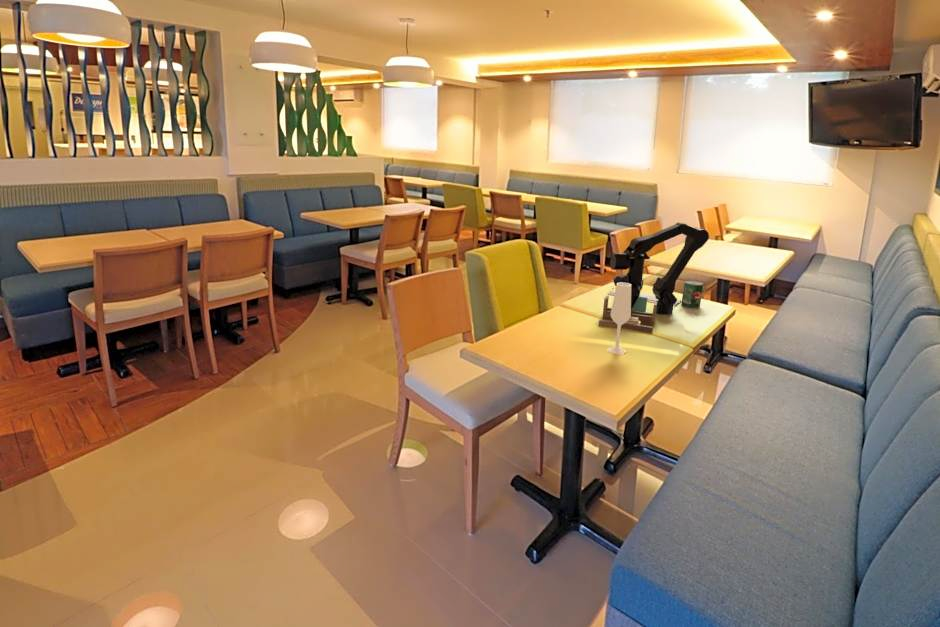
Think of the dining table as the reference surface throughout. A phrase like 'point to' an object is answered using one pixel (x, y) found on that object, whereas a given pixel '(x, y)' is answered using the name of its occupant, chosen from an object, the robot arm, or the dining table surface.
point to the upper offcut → (633, 320)
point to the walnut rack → (644, 317)
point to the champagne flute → (620, 312)
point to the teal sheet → (640, 304)
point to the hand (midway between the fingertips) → (631, 306)
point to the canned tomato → (692, 294)
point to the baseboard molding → (649, 297)
